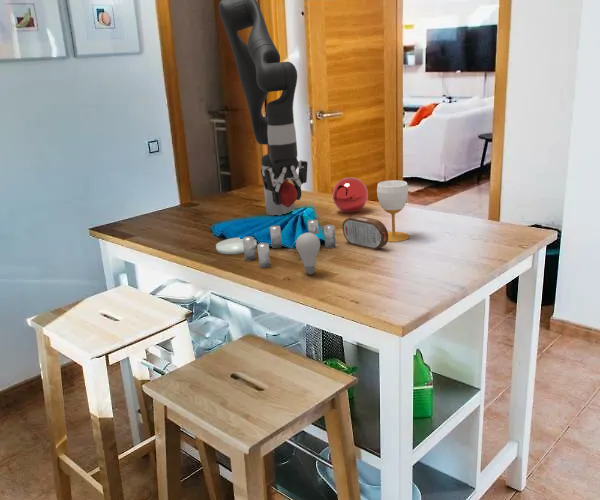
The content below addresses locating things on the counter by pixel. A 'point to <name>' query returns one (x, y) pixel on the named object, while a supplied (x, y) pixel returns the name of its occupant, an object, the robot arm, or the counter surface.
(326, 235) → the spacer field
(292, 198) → the onion
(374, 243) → the tin
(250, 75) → the robot arm
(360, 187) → the ball
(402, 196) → the cup
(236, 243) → the dish
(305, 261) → the lightbulb
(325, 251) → the counter surface
